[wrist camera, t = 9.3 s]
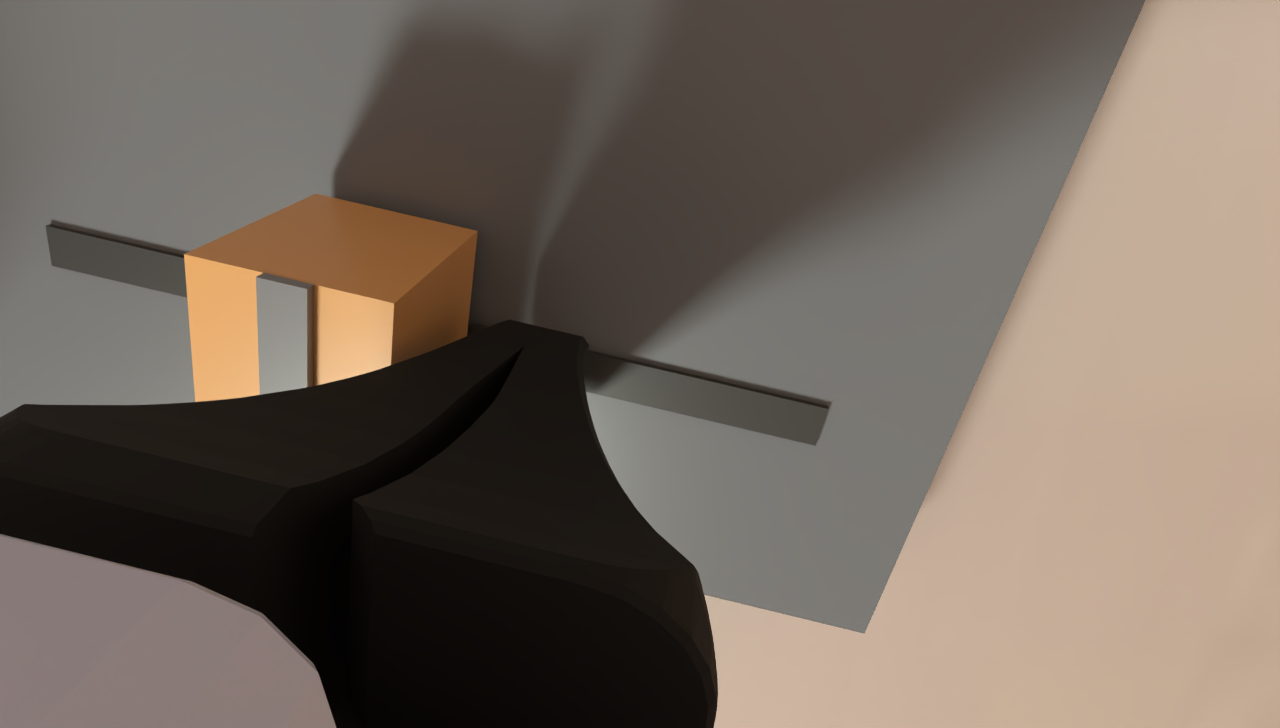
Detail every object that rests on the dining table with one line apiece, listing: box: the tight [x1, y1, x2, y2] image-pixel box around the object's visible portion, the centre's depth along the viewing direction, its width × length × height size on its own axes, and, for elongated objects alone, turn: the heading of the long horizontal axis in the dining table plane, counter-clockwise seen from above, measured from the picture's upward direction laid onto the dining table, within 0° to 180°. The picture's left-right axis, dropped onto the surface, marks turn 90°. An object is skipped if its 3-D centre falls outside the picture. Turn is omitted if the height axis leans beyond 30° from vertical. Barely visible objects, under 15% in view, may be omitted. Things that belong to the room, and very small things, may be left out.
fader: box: [184, 194, 478, 402], centre depth 11 cm, size 2×4×3 cm, turn 169°
